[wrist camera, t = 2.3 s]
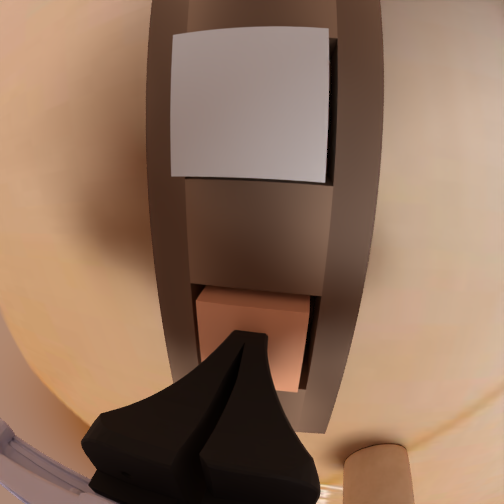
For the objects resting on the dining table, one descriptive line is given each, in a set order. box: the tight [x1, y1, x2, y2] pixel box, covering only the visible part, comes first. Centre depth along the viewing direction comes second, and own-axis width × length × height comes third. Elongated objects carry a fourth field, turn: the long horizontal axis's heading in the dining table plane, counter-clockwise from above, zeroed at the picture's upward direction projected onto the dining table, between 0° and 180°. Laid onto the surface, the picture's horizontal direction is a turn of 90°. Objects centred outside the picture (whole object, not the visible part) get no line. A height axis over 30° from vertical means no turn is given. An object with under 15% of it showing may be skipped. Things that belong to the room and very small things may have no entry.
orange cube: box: [196, 285, 310, 392], centre depth 14 cm, size 4×4×4 cm
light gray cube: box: [170, 26, 329, 183], centre depth 9 cm, size 4×4×4 cm
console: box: [146, 0, 384, 434], centre depth 11 cm, size 8×30×4 cm, turn 179°
